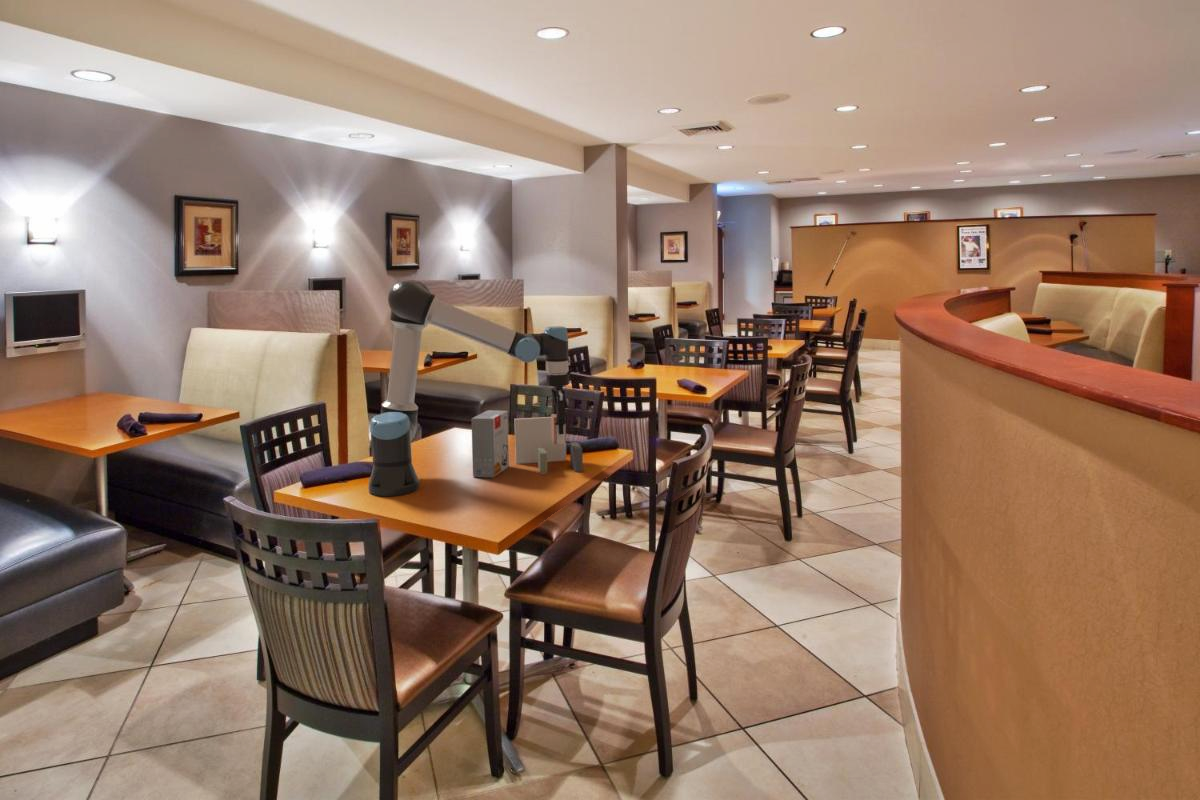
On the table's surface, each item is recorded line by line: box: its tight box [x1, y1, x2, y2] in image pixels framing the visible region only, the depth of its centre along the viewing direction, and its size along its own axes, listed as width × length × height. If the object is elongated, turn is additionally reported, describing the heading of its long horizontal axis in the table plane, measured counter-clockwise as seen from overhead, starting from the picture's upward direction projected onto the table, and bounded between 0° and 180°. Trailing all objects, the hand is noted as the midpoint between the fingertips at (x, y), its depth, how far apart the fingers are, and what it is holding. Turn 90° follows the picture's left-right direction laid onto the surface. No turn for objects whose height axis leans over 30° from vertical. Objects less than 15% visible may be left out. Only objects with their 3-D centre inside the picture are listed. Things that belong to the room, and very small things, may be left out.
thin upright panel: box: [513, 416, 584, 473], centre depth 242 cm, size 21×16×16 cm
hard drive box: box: [471, 409, 510, 479], centre depth 237 cm, size 16×8×20 cm, turn 168°
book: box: [550, 413, 567, 444], centre depth 237 cm, size 4×6×9 cm, turn 12°
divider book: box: [537, 448, 548, 475], centre depth 239 cm, size 2×8×7 cm, turn 12°
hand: (559, 440), depth 238 cm, fingers closed on book, 6 cm apart
